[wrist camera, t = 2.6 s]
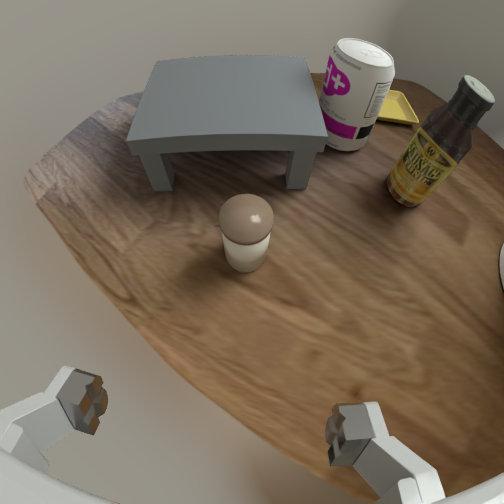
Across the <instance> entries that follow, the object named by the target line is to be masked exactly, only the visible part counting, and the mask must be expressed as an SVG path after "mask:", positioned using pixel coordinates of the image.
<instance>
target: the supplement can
mask: <svg viewBox="0 0 504 504" xmlns="http://www.w3.org/2000/svg"><path fill="white" fill-rule="evenodd" d="M393 63H394V61H393V58H392V56H391V55H390V54H389V53H388V52H386V51H385V50H384V49H382V48H381V47H379V46H377V45H375V44H372V43H370V42H367V41H365V40H360V39H355V38H345V39H341V40H339V41H338V44H337V45H336V46H334V47H333V48H332V49H331V52H330V56H329V60H328V65H327V70H326V74H325V78H324V83H323V87H322V92H321V96H320V100H319V105H320V108H321V112H322V115H323V119H324V123H325V127H326V131H327V135H328V138H327V141H326V144H327V145H328V146H330V147H332V148H335V149H337V150H342V151H353V150H358V149H360V148H362V147H363V146H364V145H365V143H366V142H367V140H368V137H369V135H370V133H371V130H372V128H373V126H374V124H375V121H376V119H377V117H378V114H379V112H380V109H381V107H382V105H383V102H384V100H385V98H386V95H387V93H388V90H389V88H390V85H391V83H392V80H393V78H394V75H395V70H394V66H393Z"/></svg>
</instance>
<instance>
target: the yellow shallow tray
mask: <svg viewBox="0 0 504 504" xmlns="http://www.w3.org/2000/svg"><path fill="white" fill-rule="evenodd" d="M377 119H378V120H382V121H389V122H396V123H403V124H417V123H419V120H418V118H417V117H416V115H415V113H414V111H413V110H412V108H411V106H410V104H409V103H408V101H407V99H406V98H405V96H404V94H403V93H401V92H398V91H393V90H388V93H387V95H386V98H385V100H384V102H383V105H382V107H381V109H380V112H379V114H378V117H377Z"/></svg>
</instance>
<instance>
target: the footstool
mask: <svg viewBox="0 0 504 504" xmlns="http://www.w3.org/2000/svg"><path fill="white" fill-rule="evenodd" d="M327 138H328V135H327V131H326V127H325V123H324V119H323V115H322V112H321V108H320V105H319V101H318V98H317V94H316V91H315V87H314V84H313V81H312V77H311V74H310V71H309V68H308V65H307V62H306V59H305V58H303V57H289V56H267V55H228V56H227V55H225V56H204V57H191V58H180V59H171V60H163V61H157V62H156V64H155V66H154V69H153V71H152V73H151V76H150V78H149V81H148V83H147V85H146V87H145V90H144V92H143V95H142V97H141V100H140V103H139V105H138V108H137V111H136V113H135V116H134V119H133V122H132V124H131V127H130V130H129V133H128V136H127V139H126V143H127V145H128V147H129V150H130V152H131V154H132V156H139V157H140V159H141V162H142V164H143V167H144V169H145V171H146V174H147V176H148V178H149V181H150V183H151V185H152V188H153V190H154V192H156V191H172V190H173V183H174V176H175V175H174V172H173V169H172V165H171V162H170V159H169V156H168V153H178V152H196V151H227V150H277V151H289V156H288V162H287V168H286V173H285V175H286V185H287V189H306V187H307V184H308V181H309V177H310V174H311V170H312V167H313V164H314V160H315V157H316V153H317V152H323V151H324V148H325V145H326V141H327Z"/></svg>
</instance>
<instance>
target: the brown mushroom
mask: <svg viewBox="0 0 504 504" xmlns="http://www.w3.org/2000/svg"><path fill="white" fill-rule="evenodd" d="M273 221H274V215H273V211H272V208H271V207H270V205H269V204H268V203H267V202H266V201H265V200H264V199H263V198H261V197H259V196H256V195H253V194H240V195H236V196H234V197H232V198H230V199H228V200H227V201H226V202H225V203H224V204H223V206H222V207H221V209H220V212H219V224H220V229H221V231H222V236H223V243H224V249H225V256H226V260H227V262H228V264H229V265H230V266H231V267H232V268H233V269H235V270H237V271H239V272H244V273H248V272H253V271H255V270H257V269H259V268H260V267H261V266H262V265H263V264H264V262H265V260H266V256H267V250H268V244H269V238H270V232H271V230H272V226H273Z"/></svg>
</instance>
